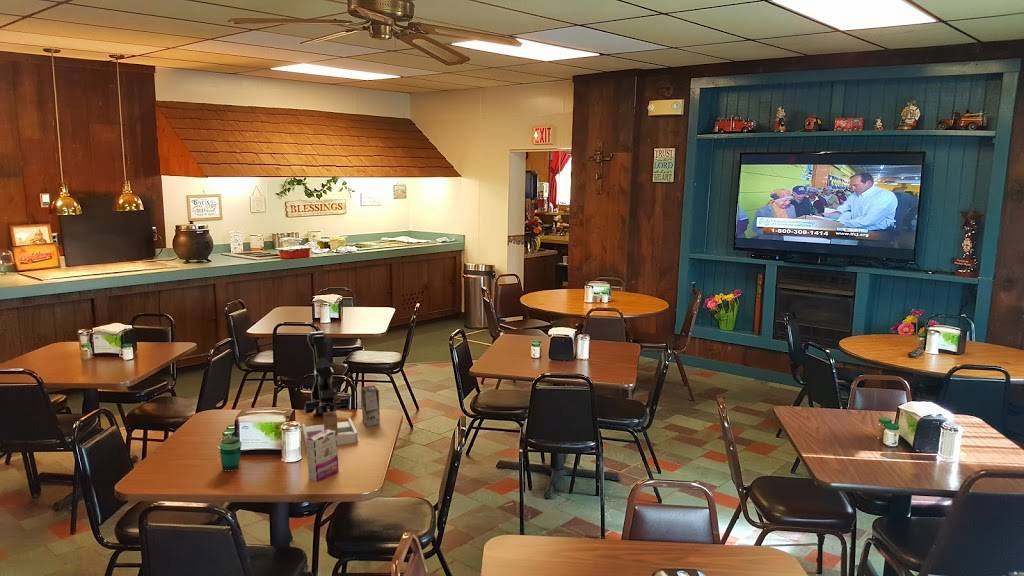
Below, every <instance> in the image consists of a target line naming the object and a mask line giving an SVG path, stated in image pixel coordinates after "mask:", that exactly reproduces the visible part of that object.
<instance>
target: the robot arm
mask: <svg viewBox="0 0 1024 576" xmlns="http://www.w3.org/2000/svg"><path fill="white" fill-rule="evenodd" d="M306 337H307V343H308V344H309V347H310V348H311V350H312V352H313V367H314V368H313V376H314V378H315V381H314V383H313V386H312V390H311V393H310V398H311V401H306V402H305V403H304V413H305V414H313V417H317V416H318V417H321V416H322V417H323V413H326V412H334V411H335V412H336V413H337V407H339V409H341V410H347V409H349V408H350V404H351V401H350V398H349V397H347V396H346V397H340V398H339V401H335V396H336V397H337V396H338V394H339V393H338V392H339V391H338V387H333V386H332V382H333V376H334V375H335V371H334V369H333V368H332V366H331V364H330V362H329V361H328V360H327V357H326V349H325V345H326V342H327V341H328V340H327V339H328V338H327V337H328V336H327V333H326V332H324V331H323V330H321V331H319V330H318V331H310V332H309V334H307V335H306ZM328 409H329V410H328Z"/></svg>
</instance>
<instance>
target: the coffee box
mask: <svg viewBox="0 0 1024 576" xmlns="http://www.w3.org/2000/svg"><path fill="white" fill-rule="evenodd" d="M360 393H361V397H360V398H361V414H362V422H363V423H364V424H365V426H366V427H370V426H376V425H380V424H381V416H380V395H379V394H380V390H379V389H378V388H377V387H376V386H375V385H367V386H361V387H360Z"/></svg>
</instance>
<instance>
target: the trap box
mask: <svg viewBox="0 0 1024 576" xmlns="http://www.w3.org/2000/svg"><path fill="white" fill-rule="evenodd" d="M301 426H302V427H301V429H302V436H303V439H304V444H305V445H306V438H308V437H310V436H313V435H315V434H317V433H320V432H322V431H324V424H317V425H310V426H306V425H305V423H302V424H301ZM337 429H338V435H336V440H337V446H339V445H340V446H341V445H346V444H347V445H348V444H349V445H350V444H355V443H358V442H359V438H358V431H357V429H356V427H355V424H354V422H353V420H352V419H351V417H348V418H347V421H341V422H337Z"/></svg>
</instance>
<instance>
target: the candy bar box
mask: <svg viewBox="0 0 1024 576" xmlns="http://www.w3.org/2000/svg"><path fill="white" fill-rule="evenodd" d="M305 449H306V459H307V472H308V480H309V481H313V482H316V483H318V482H320V481H322V480H324V479H327V478H329V477H331V476H332V475H335V474H336V473H338V472H339V471H340V470H339V457H338V445H337V440H336V431H333V430H330V429H327V430H324V431H322V432H320V433H317V434H315V435H313V436H310V437H308V438H306V444H305Z"/></svg>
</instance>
